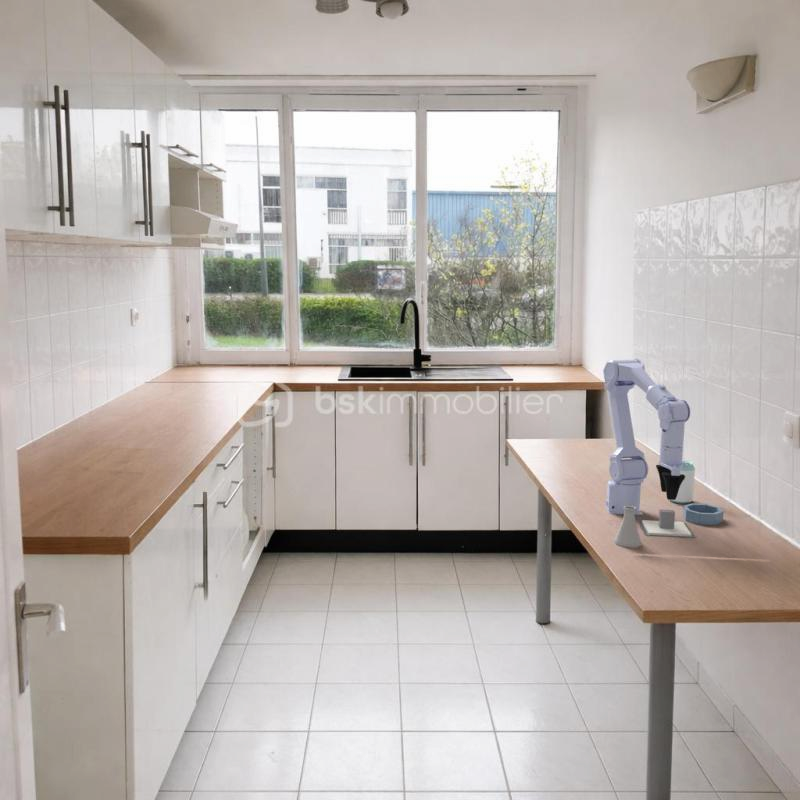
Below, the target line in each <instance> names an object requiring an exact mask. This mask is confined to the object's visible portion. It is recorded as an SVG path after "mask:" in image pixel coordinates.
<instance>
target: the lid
mask: <svg viewBox="0 0 800 800" xmlns="http://www.w3.org/2000/svg"><path fill="white" fill-rule="evenodd" d="M658 515H659V516H658V520H648V519H647V520H645V519H643V520H641V521H642V523H643V525H644V527H645V529H646V531H647V533H648V534H649V535H665V536H688V537H691V536H692V534H691V533H690V531H689V530H688V529H687V527H686V526H685V524H684V523H685V522H684V521H675V519H676V512H675V510H674V509H659V511H658Z"/></svg>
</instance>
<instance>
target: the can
mask: <svg viewBox="0 0 800 800" xmlns="http://www.w3.org/2000/svg"><path fill="white" fill-rule="evenodd" d="M682 462H686V463H687V465H686V466H682V467H681V469H680V474H683V475H685V479H684V480H683V481H682V483H681V485H680V488H679V491H678V494H677V497H676V500H670V501H671V502H672V503H677V504H685V505H687V504H691V502H692V501H694V489H695V475H696V474H695V473H696V467H694V463H693V461H689V460H684V459H682Z"/></svg>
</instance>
